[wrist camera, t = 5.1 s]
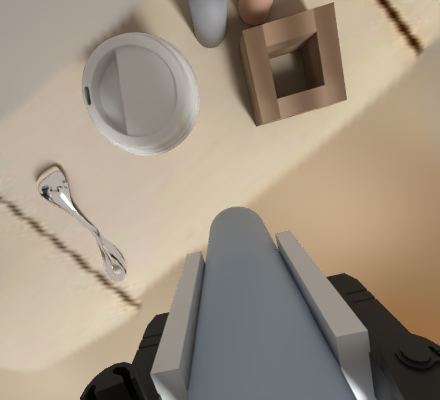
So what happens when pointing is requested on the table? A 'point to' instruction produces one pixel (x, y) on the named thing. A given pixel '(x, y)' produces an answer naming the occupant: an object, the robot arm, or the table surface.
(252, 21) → the medium dowel
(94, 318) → the table surface
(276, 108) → the socket block
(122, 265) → the silver metal utensil
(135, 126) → the coffee cup
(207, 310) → the tall dowel
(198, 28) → the short dowel
